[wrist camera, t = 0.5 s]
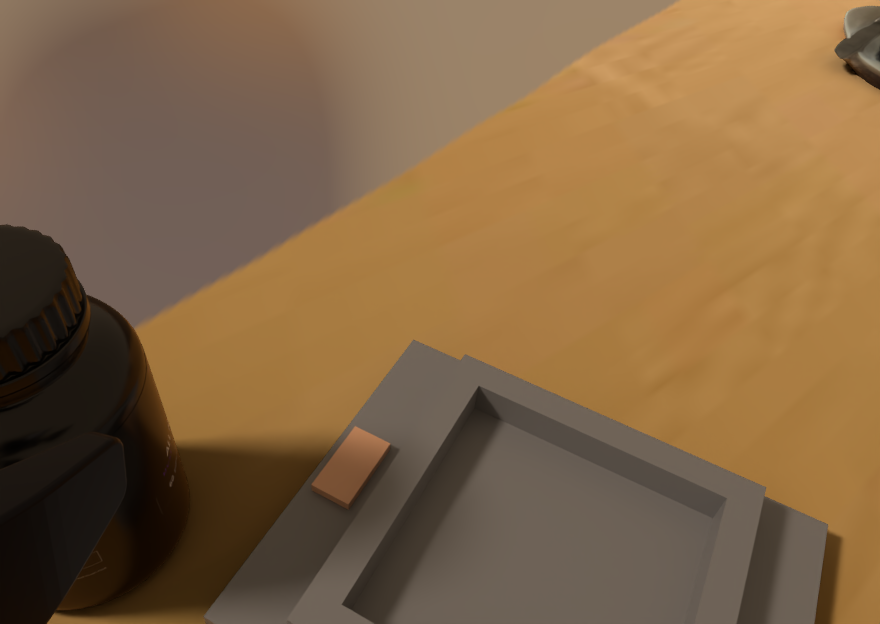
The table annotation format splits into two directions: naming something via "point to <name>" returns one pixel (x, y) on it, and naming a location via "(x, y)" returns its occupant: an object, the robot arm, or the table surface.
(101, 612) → the table surface
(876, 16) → the salad plate
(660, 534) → the grey recessed tray
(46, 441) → the supplement bottle
